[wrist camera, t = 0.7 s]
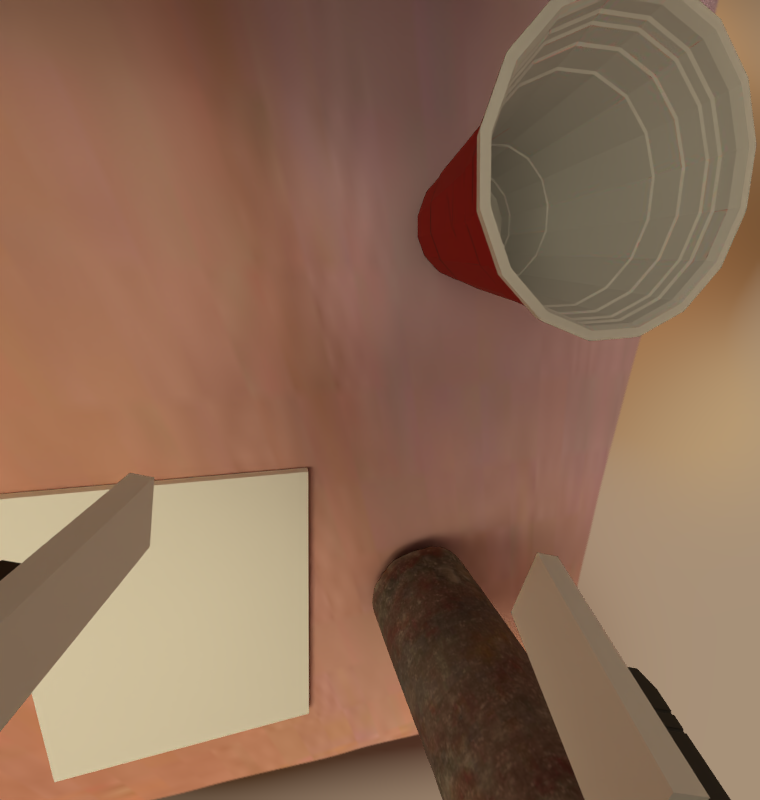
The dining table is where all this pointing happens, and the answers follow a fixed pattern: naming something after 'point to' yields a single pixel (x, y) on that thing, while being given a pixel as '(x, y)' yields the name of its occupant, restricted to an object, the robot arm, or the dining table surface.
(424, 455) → the dining table surface
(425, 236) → the plastic cup
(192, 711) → the mat
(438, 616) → the brown rough cylinder
